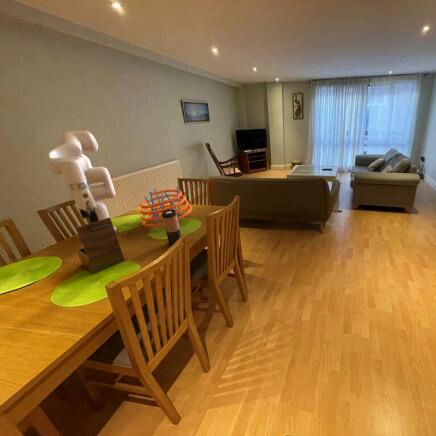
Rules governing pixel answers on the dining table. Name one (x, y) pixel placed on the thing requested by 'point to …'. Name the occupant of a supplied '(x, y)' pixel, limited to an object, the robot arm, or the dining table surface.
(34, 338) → the dining table surface
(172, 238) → the travel mug
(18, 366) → the dining table surface
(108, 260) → the chest
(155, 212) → the toy basket
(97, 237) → the lid
